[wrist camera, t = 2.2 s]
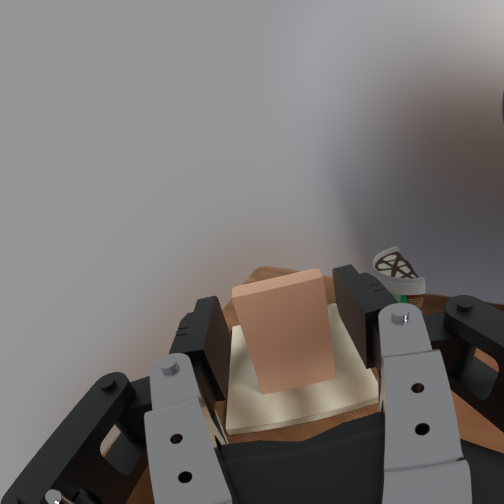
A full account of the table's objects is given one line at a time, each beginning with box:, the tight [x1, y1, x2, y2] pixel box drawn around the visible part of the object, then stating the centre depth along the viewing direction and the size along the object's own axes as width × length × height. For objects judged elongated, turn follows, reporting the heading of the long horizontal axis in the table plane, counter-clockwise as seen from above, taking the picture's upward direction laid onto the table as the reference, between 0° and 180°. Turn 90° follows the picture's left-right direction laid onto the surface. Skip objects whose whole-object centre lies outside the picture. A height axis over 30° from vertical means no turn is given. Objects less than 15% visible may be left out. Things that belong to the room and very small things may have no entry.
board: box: [226, 303, 378, 435], centre depth 38 cm, size 18×22×1 cm
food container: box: [370, 246, 426, 313], centre depth 39 cm, size 12×6×10 cm, turn 172°
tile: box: [232, 268, 336, 395], centre depth 31 cm, size 9×3×14 cm, turn 91°
